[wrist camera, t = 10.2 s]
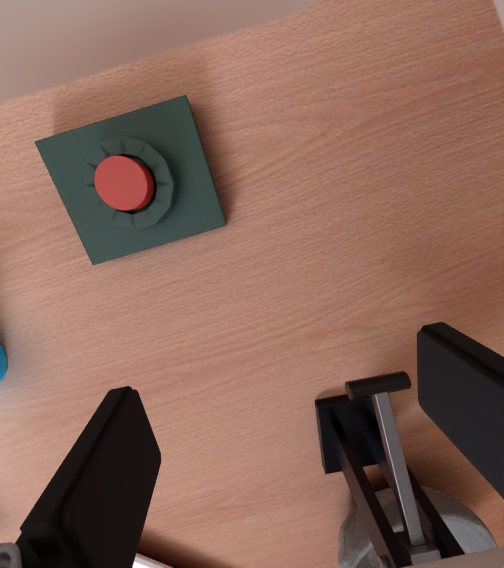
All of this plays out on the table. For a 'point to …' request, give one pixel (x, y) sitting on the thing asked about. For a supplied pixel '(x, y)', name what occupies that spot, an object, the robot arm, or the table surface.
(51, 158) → the button box
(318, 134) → the table surface
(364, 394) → the lever
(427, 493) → the bowl
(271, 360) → the table surface
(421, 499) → the bracket
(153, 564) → the plate
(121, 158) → the button
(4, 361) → the mug
